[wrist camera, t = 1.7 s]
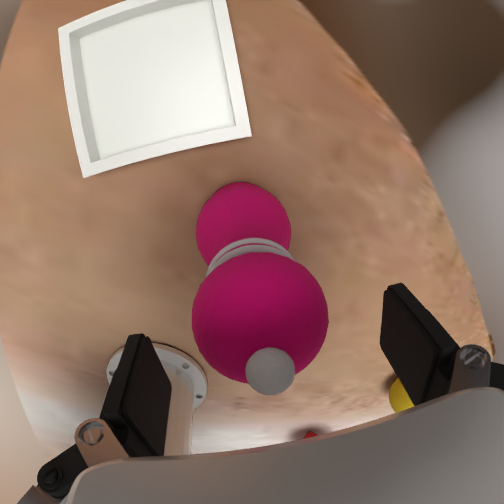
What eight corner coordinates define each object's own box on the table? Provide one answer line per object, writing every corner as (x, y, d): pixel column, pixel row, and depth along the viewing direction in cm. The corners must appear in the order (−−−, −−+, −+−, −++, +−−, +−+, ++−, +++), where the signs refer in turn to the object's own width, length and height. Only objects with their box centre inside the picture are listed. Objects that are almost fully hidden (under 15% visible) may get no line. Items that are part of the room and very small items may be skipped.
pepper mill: (293, 197, 28) (411, 335, 10) (258, 264, 30) (304, 451, 12) (220, 162, 26) (214, 260, 8) (187, 235, 28) (143, 418, 10)
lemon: (375, 392, 40) (395, 432, 33) (390, 365, 38) (414, 406, 31) (404, 389, 41) (425, 426, 34) (419, 363, 39) (444, 400, 32)
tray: (248, 134, 25) (251, 136, 23) (96, 172, 25) (83, 178, 22) (220, -9, 20) (221, -22, 17) (72, 35, 20) (58, 28, 17)
